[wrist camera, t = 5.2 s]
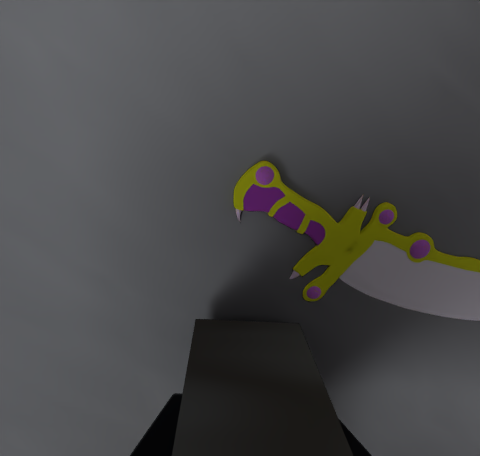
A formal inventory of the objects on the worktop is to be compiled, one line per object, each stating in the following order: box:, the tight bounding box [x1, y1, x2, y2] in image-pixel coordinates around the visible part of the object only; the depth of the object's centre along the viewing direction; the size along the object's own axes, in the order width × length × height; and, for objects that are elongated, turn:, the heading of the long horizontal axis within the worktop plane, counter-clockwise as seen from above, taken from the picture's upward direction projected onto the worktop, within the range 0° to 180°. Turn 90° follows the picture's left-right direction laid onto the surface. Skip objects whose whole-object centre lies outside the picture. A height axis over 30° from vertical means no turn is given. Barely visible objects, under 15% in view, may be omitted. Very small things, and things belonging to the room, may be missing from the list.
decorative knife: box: [233, 161, 480, 321], centre depth 8 cm, size 12×1×5 cm
